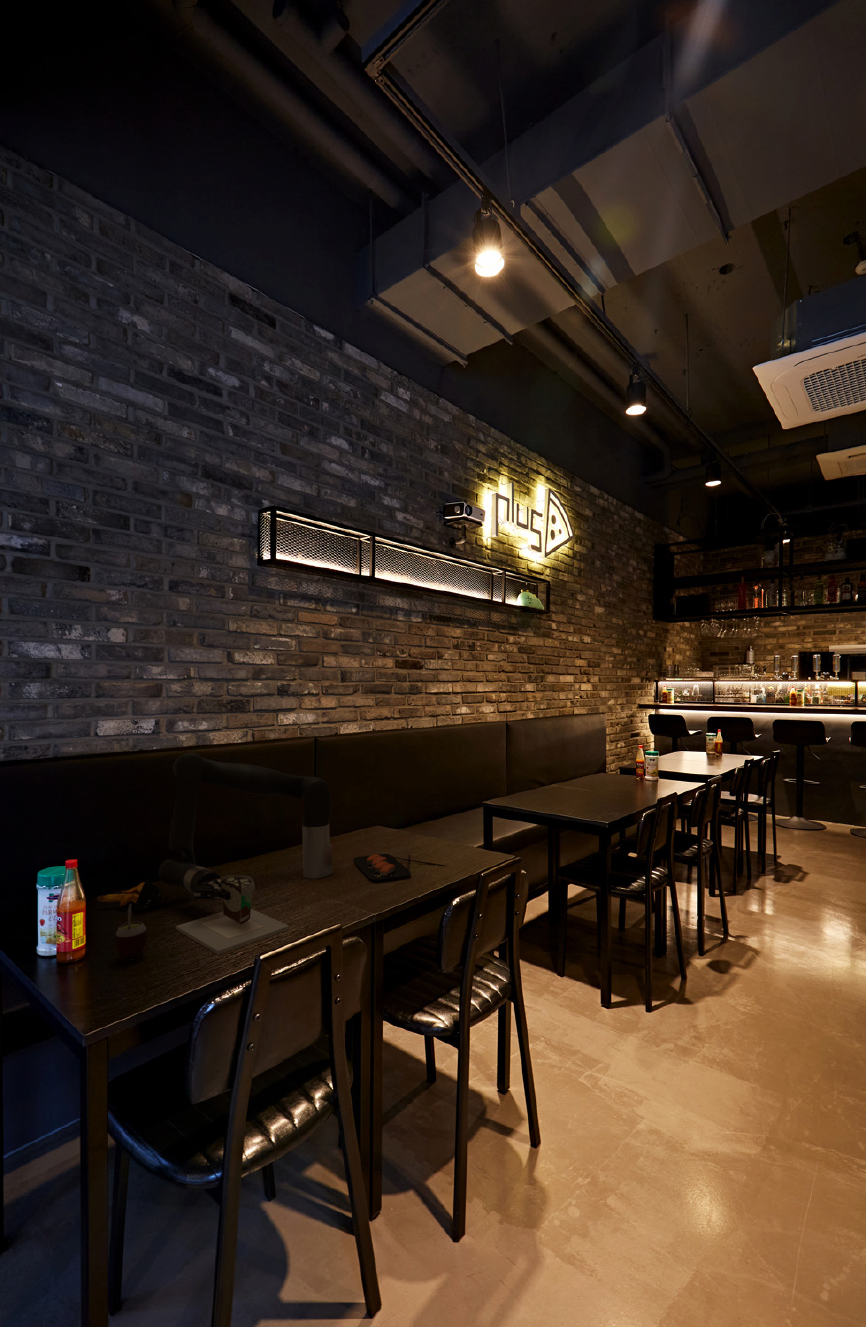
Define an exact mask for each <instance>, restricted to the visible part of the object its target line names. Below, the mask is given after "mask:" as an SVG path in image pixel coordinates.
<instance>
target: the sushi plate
mask: <svg viewBox="0 0 866 1327" xmlns="http://www.w3.org/2000/svg"><path fill="white" fill-rule="evenodd" d="M399 860H404V861H407V865H406V866H404V865H403V863H401V862H400V861H399ZM352 861H353V863H354V864H355V865H356V866H357V867H358V868H359V869H360V871H362V872H363V874H364V875H365V876H366V877H367V878H368V879H369V880H370V881H386V880H387V879H388V880H394V878H395V879H399V878H405V877H409V876H411V875H412V874H411V873H412V872H411V871H410V869H409V865H410V862H414V863H419V864H424V865H430V866H436V865H437V866H438V867H447V865H445V864H439V863H434V862H428V861H427V862H425V861H421V860H415V859H411V854H408V858H401V857H396V856H392V854H389V853H378V854H370V855H362V856H357V857H353V860H352ZM368 867H371V868H372V867H373V868H372V869H371V868H368ZM374 875H381V877H378V878H377V876H374ZM391 875H392V876H391ZM396 875H397V876H396ZM388 880H387V881H388Z"/></svg>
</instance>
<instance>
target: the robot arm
mask: <svg viewBox="0 0 866 1327" xmlns="http://www.w3.org/2000/svg"><path fill="white" fill-rule="evenodd" d="M172 771H173V774H174V776H175V777H176V797H175V802H174V803H175V804H174V808H173V813H172V817H171V823H170V830H169V838H168V848H169V849H170V850H171V851H174V852H175V851H177V852H180V853H181V856H182V857H181V858H169V859H166V860H164V861H163V862H162V863H161V864H160V866H159V868H158V876H159V879H160V881H161V882H162V883H164V884H165V885H170V886H175V887H181V888H183V889H185V890H187V891H188V892H189V893H191V894H193V899H194V900H211V901H212V900H215V899H216V898H217V899H221V900H222V899H225V900H230V892H229V891H227V890H225V889H222V888H221V885H220V880H221V876H220V874H219V873H217V872H216V871H213V870H211V869H209V868H206V867H205V866H199V865H198V864H197V862H196V858H195V849H194V839H195V838H194V837H195V829H196V828H195V826H196V814H197V812H196V811H197V804H198V803H197V801H198V797H199V791H200V786H201V783H203V784H212V785H218V786H221V787H225V788H227V789H231V790H234V791H238V792H242V793H247V794H253V795H260V796H284V797H290V798H295V799H298V800H301V801H303V816H302V819H301V824H302V825H301V828H302V829H301V830H302V831H301V832H302V868H303V869H302V873H303V875H302V876H303V878H305V879H321V878H322V879H323V878H326V877H328V876H330V875H331V874H333V873H334V870H333V869H334V868H333V864H334V863H333V845H332V844H331V843H330V842H331V839H330V818H331V812H332V810H331V809H332V808H331V807H332V806H331V805H332V793H331V787H330V784H328V782H327V781H325V780H323V779H322V778H320V777H318V776H306V775H305V776H303V775H295V774H290V773H285V772H282V771H279V770H276V769H273V768H269V767H264V766H260V765H255V764H248V763H239V762H221V761H216V760H213V759H208V758H205V757H202V756H201V755H200V754H198V753H196V752H186V753H183V754H181V755H179V756H178V757H177V758H176V759H175V761H174V763H173V766H172Z"/></svg>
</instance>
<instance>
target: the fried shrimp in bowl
mask: <svg viewBox="0 0 866 1327" xmlns="http://www.w3.org/2000/svg"><path fill="white" fill-rule="evenodd" d="M162 896H163V892H162V891H161V890H160V889H159V887H158V886H157V884H155V883H154V882H151V881H150V880H149V879H146V880H145V882H141V883H139V884H138V885H137V886H135V887H134V886H133V887H132V888H130V889H128V890H124V891H121V893H114V894H105V895H100V896H98V897H97V899H96V900H97V902H102V903H115V902H119V906H120V909H121V910H123V911H126V912H128V909H129V904H132V906H131V910H132V911H135V912H136V911H145V910H146V911H147V910H149V909H151V908H154V907H158V906H159V905H160V904H161V902H162Z"/></svg>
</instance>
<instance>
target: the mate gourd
mask: <svg viewBox="0 0 866 1327" xmlns="http://www.w3.org/2000/svg"><path fill="white" fill-rule="evenodd" d="M131 906H132V904H129V909H128V911H127V923H123V924H122V925H121V926H119V927H118V928H117V930H116V933H115V938H114V945H115V949H116V951H117V952H118V956H119V958H120V961H119V965H120V964H122V965H124V964H125V963H124V962H126V963H128V962H129V961H128V960H130V959H134V960H142V961H143V958H142V957H141V956H142V955H143V954H144V952H143V951H144V948H145V947H146V944H147V940H148V939H147V938H148V931H147V926H146V925H145V924H144V923H143V922H141V921H132V920H131V919H132V911H133V910H131ZM141 954H142V955H141ZM134 960H133V961H134ZM127 961H128V962H127ZM130 961H131V960H130ZM123 963H124V964H123Z"/></svg>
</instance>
